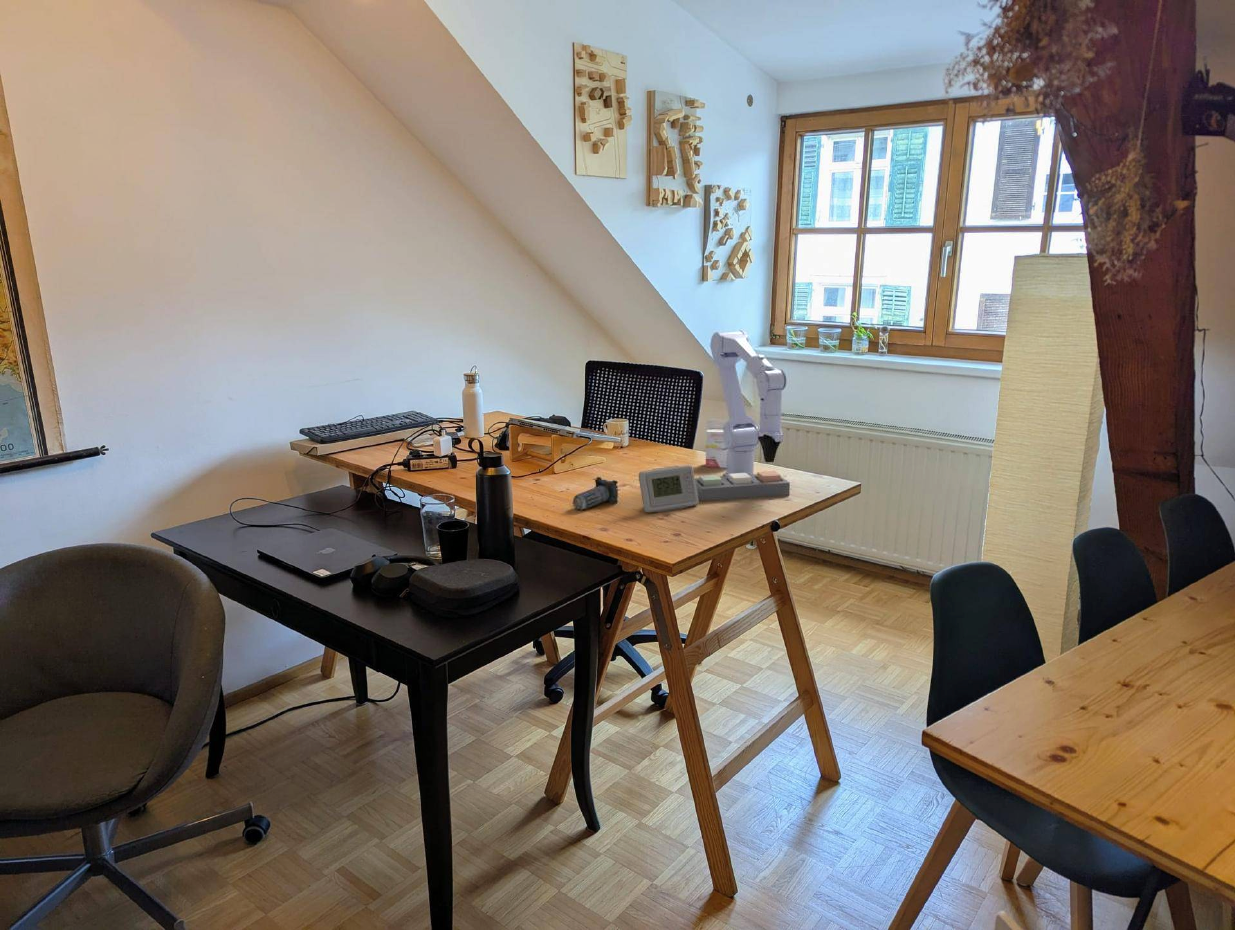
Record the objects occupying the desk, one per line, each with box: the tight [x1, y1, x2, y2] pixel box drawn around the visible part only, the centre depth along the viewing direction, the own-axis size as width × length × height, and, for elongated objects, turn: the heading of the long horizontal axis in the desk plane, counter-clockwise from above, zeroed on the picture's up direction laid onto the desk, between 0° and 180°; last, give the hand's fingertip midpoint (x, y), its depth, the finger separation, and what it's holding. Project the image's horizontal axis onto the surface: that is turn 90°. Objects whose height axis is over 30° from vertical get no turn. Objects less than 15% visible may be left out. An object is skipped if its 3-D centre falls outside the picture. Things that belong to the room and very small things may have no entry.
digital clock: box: [638, 464, 699, 514], centre depth 209 cm, size 16×9×11 cm, turn 103°
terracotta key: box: [756, 470, 782, 482], centre depth 222 cm, size 5×5×2 cm
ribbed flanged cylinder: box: [572, 476, 619, 511], centre depth 212 cm, size 9×8×12 cm
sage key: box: [698, 474, 722, 486], centre depth 219 cm, size 5×5×2 cm
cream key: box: [728, 473, 751, 484], centre depth 221 cm, size 5×5×2 cm
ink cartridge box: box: [705, 418, 729, 468], centre depth 250 cm, size 9×5×15 cm, turn 84°
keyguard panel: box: [695, 473, 791, 502], centre depth 221 cm, size 11×25×4 cm, turn 100°
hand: (769, 461), depth 221 cm, fingers closed
